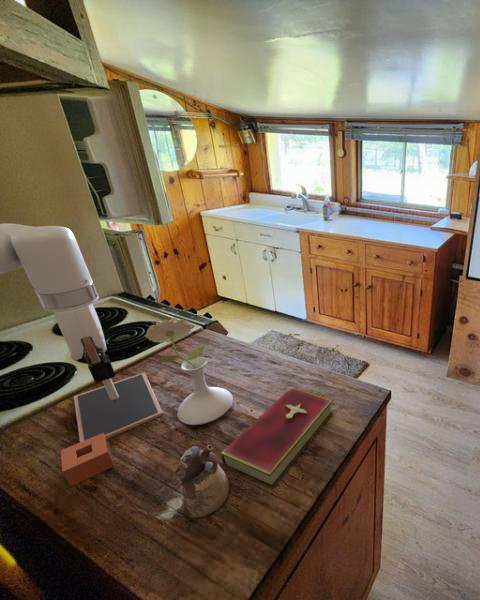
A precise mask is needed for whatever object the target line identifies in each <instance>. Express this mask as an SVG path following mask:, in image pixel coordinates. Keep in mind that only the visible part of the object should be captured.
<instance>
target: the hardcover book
mask: <svg viewBox="0 0 480 600" xmlns="http://www.w3.org/2000/svg"><path fill="white" fill-rule="evenodd" d="M333 402H334V401H333V399H330V398H327V397H324V396H322V395H318V394H315V393H313V392H309V391H306V390H303V389H300V388H297V387H294V386H291V387H290V388H288V389H287V391H286V392H284V394H282V395H281V396H280V397H279V398H278V399H276V401H274V403H273V404H272V405H270V407H268V408H267V409H266V410H265V411H264V412H263V413H262V414H261V415H260V416H259V417H257V419H256V420H254V422H252V424H251V425H250V426H248V427H247V428H246V429H245V430H244V431H243V432H241V434H240V435H239V436H238V437H237V438H236V439H234V440H233V441H232V442H231V443H230V444H229V445H228V446H227V447H226V448H225V449H224V450H222V452H220V460H221V463H222V466H223V467H224V468H226V469H228V470H230V471H232V472H234V473H236V474H238V475H241V476H243V477H245V478H247V479H248V480H249V479H250V480H251V481H253V482H256V483H258V484H260V485H262V486H265V487H267V488H269V489H271V490H273V489H274V488H275V487H276V486H277V484H278V483H279V482H280V481H281V479H283V477H284V475H285V474H286V473H287V471H288V470H289V469H290V468H291V466H292V465H293V464H294V463H295V461H296V460H298V458H299V457H300V455H301V454H302V453H303V451H304V450H305V449H306V448H307V446H308V445H309V444H310V442H311V441H312V440H313V439H314V438H315V437H316V435H317V434H318V432H319V431H320V430H321V429H322V428H323V427H324V425H325V424H326V423H327V421H329V419H330V418H331V417H332V415H333V414H334V411H333V410H331V408H332V407H331V406H332V405H331V404H332V403H333Z"/></svg>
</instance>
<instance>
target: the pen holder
mask: <svg viewBox="0 0 480 600" xmlns="http://www.w3.org/2000/svg"><path fill="white" fill-rule="evenodd" d="M60 460H61V461H60V463H61V473H62V474H63V476H64V477H65V479H66V481H67V482H68V483H67V484H68V485H69V487H73V486H75V485H78V484H80V483H82V482H84V481H87V480H88V479H91V478H93V477H95V476H97V475H99V474H101V473H104V472H105V471H107V470H109V469H112V468H114V467H115V462H114V457H113V452H112V450H111V446H110V443H109V442H108V439H106V437H105V435H104V433H102V434H99V435H97V436H94V437H92V438H90V439H87V440H85V441H82V442H80V441H79V442H77V443H75V444H73V445H71V446H68V447H66V448H62V449H61V450H60Z"/></svg>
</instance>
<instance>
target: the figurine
mask: <svg viewBox="0 0 480 600" xmlns="http://www.w3.org/2000/svg"><path fill="white" fill-rule="evenodd" d="M213 449H214V448H213V446H212V445H211V444H208V445H206V447H205V448H204V449H202V448H200V447H199V446H196V445H194V446H191V447H190V448H189V449H186V451H184V453H183V455H182V456H181V457H180V460H179V462H178V467H177V468H176V470H175V474H177V475H179V483H178V484H179V486H182V494H183V497H182V502H183V506H184V508H185V512H186V513H187V515H188V516H189V517H191V518H193V519H194V518H196V519H197V518H203V517H207V516H208V515H210V514H212V513H214V512H216V511H217V510H218V509H219V508H221V507H222V505H224V503H225V502H226V501H227V498H228V497H229V493H230V481H229V478H228V476H227V474H226V472H225V471H224V470H223V468H222V467H221V466H220V465H219V459H218V456H217V454H216V453H215V452H213Z"/></svg>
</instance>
